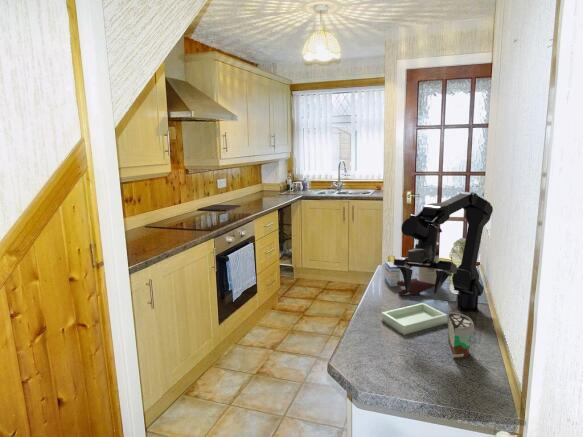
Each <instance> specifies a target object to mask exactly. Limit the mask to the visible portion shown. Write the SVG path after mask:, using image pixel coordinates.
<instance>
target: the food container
mask: <svg viewBox="0 0 583 437" xmlns="http://www.w3.org/2000/svg"><path fill="white" fill-rule="evenodd" d="M447 319H448V320H447V323H448V325H447V327H448V330H447V332H448V333H447V334H448V336H447V345H448V348H449V351H450V354H451V356H452V357H451V358H452V360H463V359H466V358H467V357H468V356H469V355H470V349H471V348H470V347H471V341H472V340H471V339H472V333H473V332H475V326H474V322H473V320H472V319H471V318H470V317H469V316H467V315H465V314H463V313H461V312H460V313H459V312H453V311H448V314H447Z"/></svg>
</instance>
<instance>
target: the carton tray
mask: <svg viewBox="0 0 583 437" xmlns="http://www.w3.org/2000/svg"><path fill="white" fill-rule="evenodd" d="M381 322H383V323H384V324H387V325H388V326H389V327H391V328H393V329H394V330H395V331H397V332H398V333H400V334H401V335H408V334H409V335H410V334H412V333H415V332H419V331H422V330H427V329H429V328H430V329H431V328H434V327H437V326H441V325H444V324H445V325H446V324H447V323H448V314H447V313H444V312H443V311H441V310H438V309H437V308H435V307H432V306H431V305H428V304H426V303H425V302H421V303H416V304H413V305H409V306H403V307H400V308H395V309H391V310H386V311H383V312H381Z"/></svg>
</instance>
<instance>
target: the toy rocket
mask: <svg viewBox="0 0 583 437" xmlns="http://www.w3.org/2000/svg"><path fill="white" fill-rule="evenodd" d="M397 285H398V286H397V287H402V288H403V287H404V288H403V289H401V290H398V292H397V294H398V296H399V295H400V296H405V295H407V294H408V293H409V294H410V295H412V296H420V294H421V293H422V292H425V291H428V290H429V289H432V288H434V287H435V284H432V283H427V282H423V281H419V279H418V278H417V277H415V278H411V282H410V287H409V290H406V287H405V283H404V280H400V281H398V282H397Z"/></svg>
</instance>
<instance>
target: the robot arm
mask: <svg viewBox="0 0 583 437" xmlns="http://www.w3.org/2000/svg"><path fill="white" fill-rule="evenodd" d="M462 209H463V210H464V211H465V214H464V217H465V219H466V222H467V224H468V225H467V230H466V236H465V242H464V247H463V251H462V258H461V263H460V265H459V266H457V264H455V263H453V262H452V261H446V260H439V262H438V263H436V261H435V254H436V252H437V250H439V248H438V247H437V248H438V249H437V248H436V246H437V242H438V238H439V233H442V232H443V230H442V228H440V226H439V225H443V224H444V223H446V222H447V221H448V220H449V219H450V216H451V215H453V214H454V213H456V212H459V211H460V210H462ZM493 211H494V208H493V206H492V204H491V203H490V202H489V201H488V200H487V199H485V198H483V197H481V196H479V195H478V194H477V193H475V192H474V191H465V190H464V191H461V192H460V193H459V194H456V195H454V196H452V197H450V198H448V199H446V200H444V201H442V202H435V203H433V202H432V203H427V204H425V205H423V207H422V208H421V210H420V211H418V213H417V214H416V215H415V214H410V215H409V218H407V219H405V220H404V221H403V223H402V224H401V233H402V234H403V235H404V236H406V237H409V238H410V239H414V240H417V243H416V244H415V246H414V248H412V249H409V250H407V257H402V256H401V257H400V256H396V257H394V260H393V262H394V264H393V265H395V266H397V268H399V269H400V273H401V274H402V277H403V282H404V283H405V286H404V288H405V287H406V290H409V287H410V282H411V279H412V276H413V269H411V268H412V267H415V268H419V267H422V268H432V269H438V270H436V282H435V286H434V287H433V294H434V295H437V294H438V292H439V291H440V290H441V288H442V287H443V284H444V283H445V282H446V280H447V279H448V278H449V277H450V276H451V277H452V278H451V281H452V285H453V290H454V291H456V292H457V294H456V298H455V299H456V300H455V304H456V307H457V308H458V310H459V311H461V312H479V310H480V309H479V308H478V306H479V305H478V304H479V297H481V296H482V295H483V293H484V286H483V285H482V284H481V282H480V273H479V271H478V269H477V262H478V258H479V257H478V256H479V252H480V248H481V246H480V245H481V243H482V242H481V241H482V236H483V229H484V227H485V226H486V225H487V223H489V221H490V220H491V216H492V213H493ZM419 264H420V265H419ZM426 264H430V265H426Z"/></svg>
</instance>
